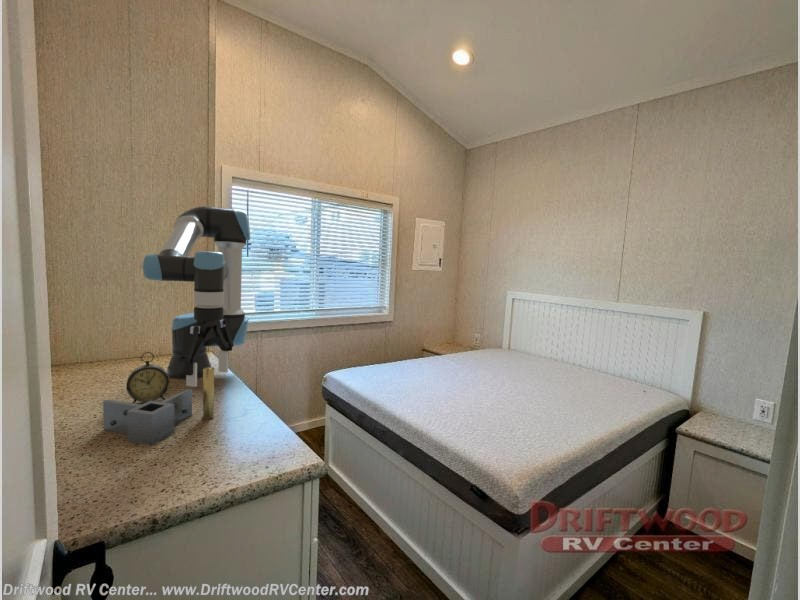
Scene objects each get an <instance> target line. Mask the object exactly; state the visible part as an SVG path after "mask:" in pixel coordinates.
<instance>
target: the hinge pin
mask: <svg viewBox="0 0 800 600" xmlns="http://www.w3.org/2000/svg"><path fill="white" fill-rule="evenodd" d="M214 396H215V368H214V367H212V366H211V367H206V368H203V376H202V418H203V420H205V421H208V420H212V419H214V415H215V413H214V411H215V408H214V407H215V406H214V405H215V403H214V401H215V397H214Z"/></svg>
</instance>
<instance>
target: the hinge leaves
mask: <svg viewBox="0 0 800 600" xmlns="http://www.w3.org/2000/svg"><path fill="white" fill-rule="evenodd" d="M165 399H166V400H163V399H162V401H157V400H153V401H151V400H150V401H148V402H143V403H141V404H140V403H133V402H126V401H119V400H113V399H106V400H103V401H102V406H103V407H102V408H103V409H102V410H103V430H104V431H109V432H114V433H119V434H126V435H127V441H128V442H131V443H136V444H142V445H149V446H154V445H156V444H158V443H159V442H161V441H162V440H164V439H166V438H168V437H169V436H171V435H172V434H174V433H175V426H176V425H178V424H179V423H181V422H183V421H185V420H186V419H188V418H189V417H191V416H193V389H192V388H186V389H185V390H183V391H181V392H178V393H176V394H174V395H172V396H170V397H168V398H165Z"/></svg>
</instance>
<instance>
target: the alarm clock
mask: <svg viewBox="0 0 800 600" xmlns="http://www.w3.org/2000/svg"><path fill="white" fill-rule="evenodd" d="M145 354H151V356H152V358H151V360H146V361H145V360H144V359H143V356H144V355H145ZM140 358H141V361H142V362H143V363H145V364H143V365H141V366H138V367H137V368H134V370H133V371H132V372H130V374H129V375H128V377H127V380H126V387H125V388H126V392H127V394H128V395H129V397H131V398H132V399H133V401H132V403H134V404H136V403H137V402H142V403H146V402H148V401H150V400H151V401H157V399H159V398H161V399H162V401H163V400H166V399H167V398H165V397H164V394H165V393H166V392H167V390H168V388H169V386H170V380H169V379H170V377H169V376H168V374H167V370H166V369H165V368H163V367H161V366H160V365H157V364H150V363H151V362H153V360H154V359H155V355H154V354H153V353H152V352H151V351H146V352H143V353H142V354H141V356H140Z"/></svg>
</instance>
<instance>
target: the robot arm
mask: <svg viewBox="0 0 800 600" xmlns="http://www.w3.org/2000/svg"><path fill="white" fill-rule="evenodd" d="M201 238H213V243H214V244H215V245H216V246H217V251H203V250H198V251H196V252H194V255H193V256H190V255H191V252H192V251H193V249H194V246H195V245H196V243H197V240H199V239H201ZM250 240H251V229H250V221H249V217H248V213H247V211H246V210H243V209H236V208H227V207H217V206H216V207H214V206H207V205H206V206H196V207H194V208H193V207H192V208H191V209H188V210H186V211H184V212H183V213H181V214H180V215H179V216H178V217H177V218H176V219H175V221H174V223H173V231H172V232H171V234H170V235H169V237H168V239H167V240H166V242H165V244H164V245H163V247H162V249H161V250H160V252H159V254H156V253H154V254H146V255H145V256H144V257H143V258H144V259H143V262H142V271H143V275H144V277H145V278H146V280H149V281H151V280H152V281H158V282H189V283H191V282H193V287H194V288H193V291H194V293H193V295H194V296H193V305H194V306H195V307H193V312H189V313H184V314H181V315H177V316H175V317H174V318H173V319H172V323H171V324H172V326H171V330H172V331H171V335H172V336H171V340H172V341H171V345H172V346H171V347H172V354H171V358H170V359H169V360H170V361H169V363H168V367H166V368H167V370H166V372H167V374H168V378H172V379H185V383H186V384H185V386H186V387H193V388H196V387H198V378H199V377H203V368H206V367H212V364H211V362H210V358H209V355H208V353H207V352H208V351H207V347H219V349H220V350H218V367H217V369H218V372H219V373H228V372H229V354H230V353H229V351H230V352H232V350H233V347H241V346H243V344H245V342H246V337H247V332H248V327H249V316H248V317H247V316H245V315H246V313H245V311H244V310H243V309H242V275H243V274H242V269H243V266H242V265H243V264H242V263H243V261H242V260H243V248H244V247H246V246H247V241H250Z"/></svg>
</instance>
